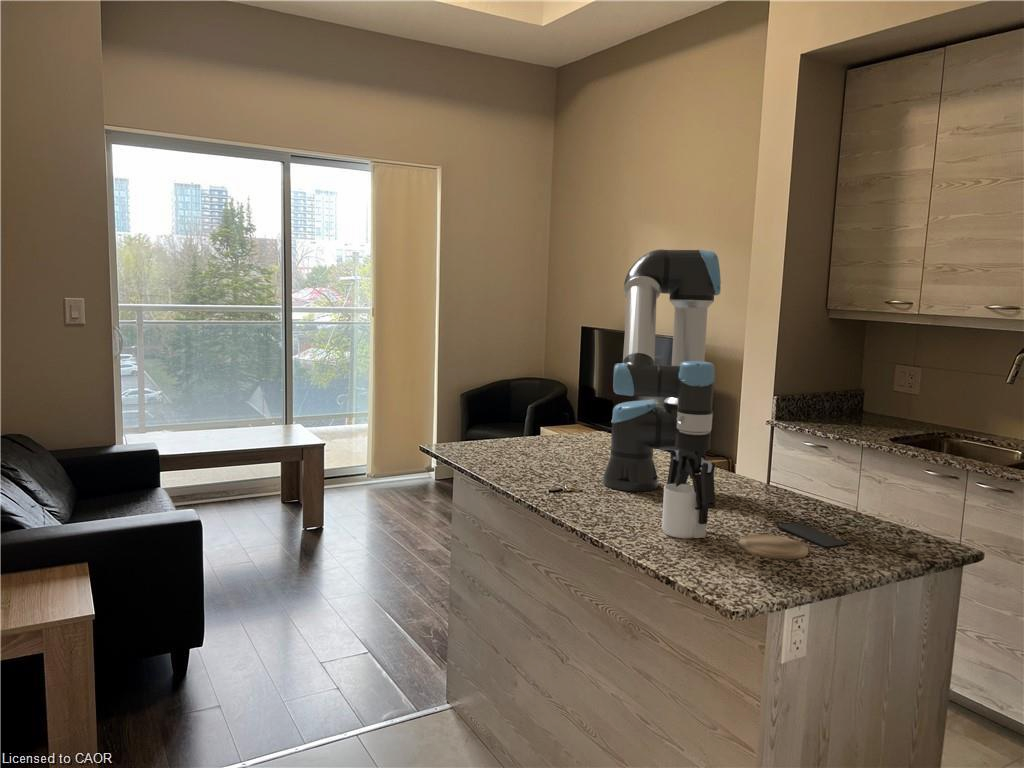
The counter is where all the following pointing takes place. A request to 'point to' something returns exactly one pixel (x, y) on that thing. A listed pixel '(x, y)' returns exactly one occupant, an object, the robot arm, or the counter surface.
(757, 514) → the counter surface
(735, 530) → the counter surface
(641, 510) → the counter surface
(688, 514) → the mug
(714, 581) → the counter surface
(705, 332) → the robot arm
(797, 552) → the coaster
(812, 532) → the smartphone
